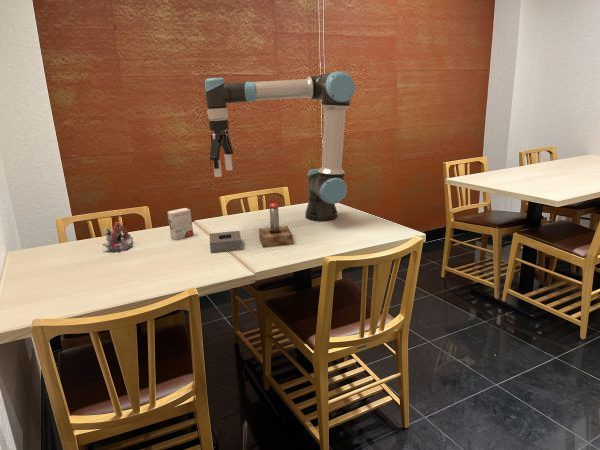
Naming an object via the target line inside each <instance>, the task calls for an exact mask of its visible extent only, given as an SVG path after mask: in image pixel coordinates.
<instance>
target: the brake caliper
mask: <svg viewBox="0 0 600 450" xmlns="http://www.w3.org/2000/svg"><path fill="white" fill-rule="evenodd" d="M122 232H123V233H122ZM103 234H105V235H106V236H105V237H106V238H105V239H106V241H107V242H104V243H102V246H103V247H105V248H107V249H109V250H110V251H111V252H117V251H119V252H123V251H124V252H125V251H127V250H128V249H130V248H132V246H134V239H133V238H134V237H132V236H131V234H130V233H129V231H128V230H127V229H126V227H124V226H123V225H122V224H121V223H120V222H118V221H115V224H114V227H113V230H110V228H109V227H104V229H103Z"/></svg>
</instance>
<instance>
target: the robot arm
mask: <svg viewBox="0 0 600 450" xmlns="http://www.w3.org/2000/svg"><path fill="white" fill-rule="evenodd" d="M355 91H356V85H355V81H354V79H353V78H352V76H351V75H350V74H349V73H346V72H345V71H333V72H331V71H330V72H326V73H323V74H318V75H314V76H313V75H312V76H310V75H309V76H307V78H303V79H302V78H301V79H281V80H268V81H267V80H265V81H263V80H262V81H240V82H225V79H224V78H223V77H214V78H213V77H212V78H211V77H210V78H206V79H205V81H204V92H205V99H206V101H205V102H206V109H207V111H206V114H207V116H208V117H207V118H208V119H209V121H208V127H209V130H210V131H211V132H212V131H213V133H211V134H210V150H209V151H210V152H209V155H210V157H209V160H210V161H212V165H213V174H214V178H221V177H222V176H223V174H222V165H221V159H220V155H221V149H222V150H223V152H224V156H223V157H224V164H225V165H224V166H225V171H233V169H234V168H233V160H232V155H234V150H233V146H232V142H231V139H230V135H229V128H230V127H229V120H228V118H229V116H228V114H229V113H228V105H227V104H232V103H233V104H235V103H236V104H238V103H250V102H251V103H253V102H257V101H268V100H285V99H286V100H287V99H303V98H305V99H306V98H307V99H308V100H319V101H320V100H321V107H322V108H323V109H324V122H323V138H322V152H321V153H322V154H321V167H320V168H313V169H312V168H311V169H309V170H308V172H307V186H308V187H307V188H308V189H307V190H308V193H307V194H308V203H307V206H306V209H305V219H307V220H310V221H313V222H314V221H315V222H324V221H325V222H326V221H332V220H334V219H337V218H338V209H337V206H336V205H335V204H338V203H340V202H341V201H343V200H344V199H345V197H346V195H347V193H348V186H347V185H348V184H347V183H346V182H345V178H346V177H345V173H346V172H345V170H344V169H343V168H342V166H343V153H344V139H345V138H344V137H345V125H346V113H347V110H348V109H349V108H350V106H351V99H352V97H353V96H354V94H355Z"/></svg>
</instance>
